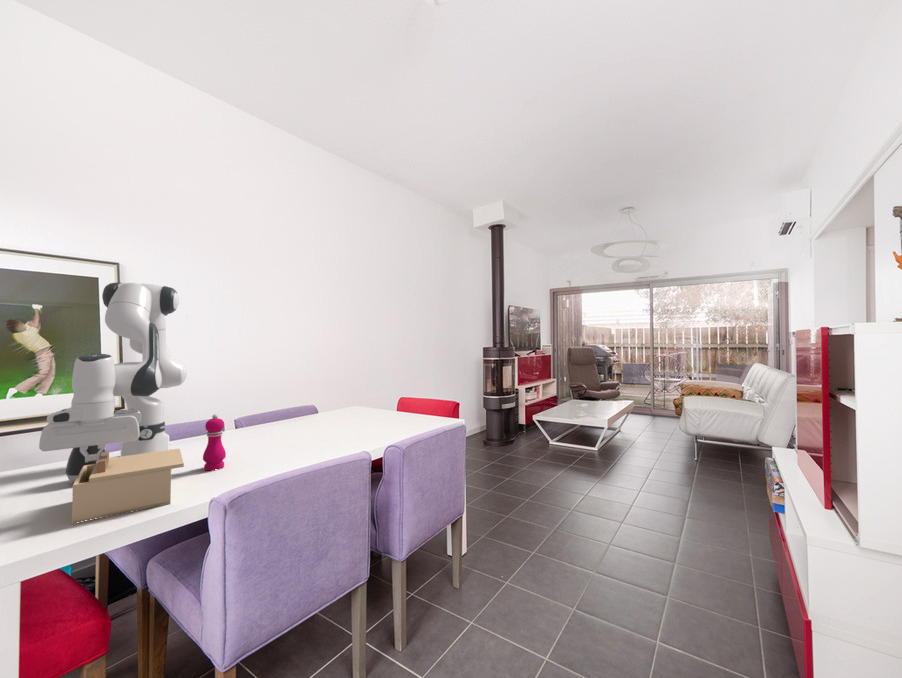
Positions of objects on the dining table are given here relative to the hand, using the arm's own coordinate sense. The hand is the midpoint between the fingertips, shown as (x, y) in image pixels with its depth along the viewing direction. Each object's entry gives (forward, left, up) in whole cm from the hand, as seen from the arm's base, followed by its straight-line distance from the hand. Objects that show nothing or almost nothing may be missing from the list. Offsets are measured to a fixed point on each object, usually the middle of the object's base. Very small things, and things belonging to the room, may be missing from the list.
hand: (92, 461), depth 104 cm
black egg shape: (-30, -4, -13) cm, 33 cm away
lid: (0, +10, -3) cm, 11 cm away
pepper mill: (-19, +31, -13) cm, 39 cm away
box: (0, +7, -13) cm, 15 cm away
